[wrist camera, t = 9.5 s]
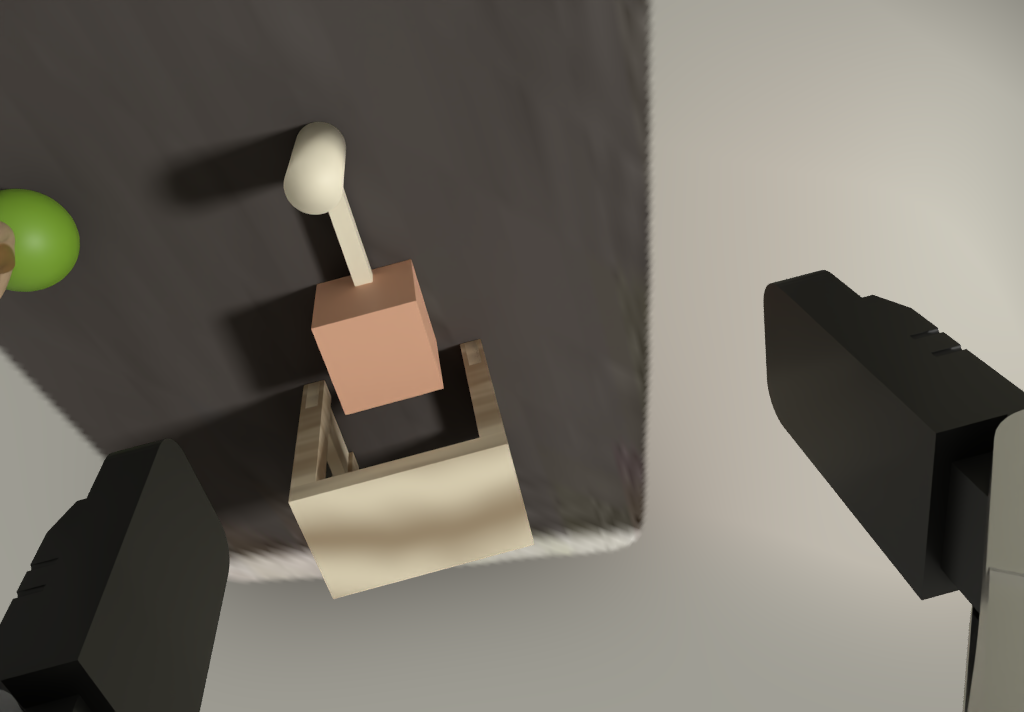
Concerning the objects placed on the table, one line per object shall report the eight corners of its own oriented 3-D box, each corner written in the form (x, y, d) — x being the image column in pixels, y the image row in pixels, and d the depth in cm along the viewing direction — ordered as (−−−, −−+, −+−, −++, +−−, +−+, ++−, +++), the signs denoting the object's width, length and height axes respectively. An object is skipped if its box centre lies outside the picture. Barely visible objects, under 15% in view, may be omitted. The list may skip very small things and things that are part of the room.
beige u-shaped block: (303, 385, 53) (288, 502, 42) (480, 338, 53) (507, 443, 43) (339, 472, 57) (333, 599, 46) (504, 428, 57) (534, 544, 47)
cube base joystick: (260, 136, 45) (242, 175, 38) (364, 108, 45) (364, 143, 38) (347, 364, 53) (345, 429, 46) (436, 340, 53) (445, 402, 46)
